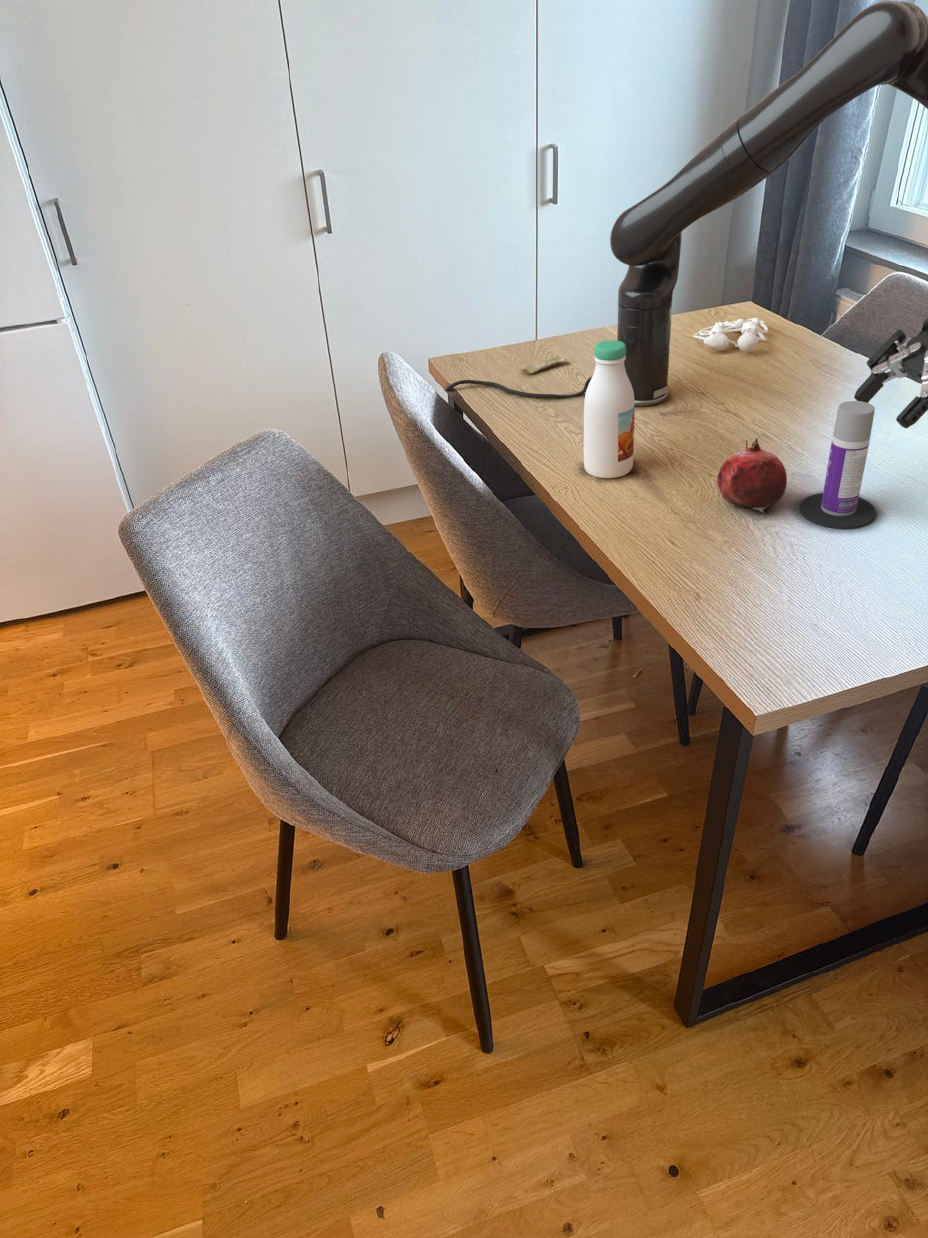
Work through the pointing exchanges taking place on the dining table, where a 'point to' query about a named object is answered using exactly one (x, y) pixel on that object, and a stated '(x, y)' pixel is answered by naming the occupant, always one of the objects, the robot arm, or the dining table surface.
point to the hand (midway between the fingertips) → (879, 412)
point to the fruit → (752, 478)
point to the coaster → (816, 515)
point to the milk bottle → (609, 414)
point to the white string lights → (746, 327)
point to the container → (847, 458)
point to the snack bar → (543, 364)
